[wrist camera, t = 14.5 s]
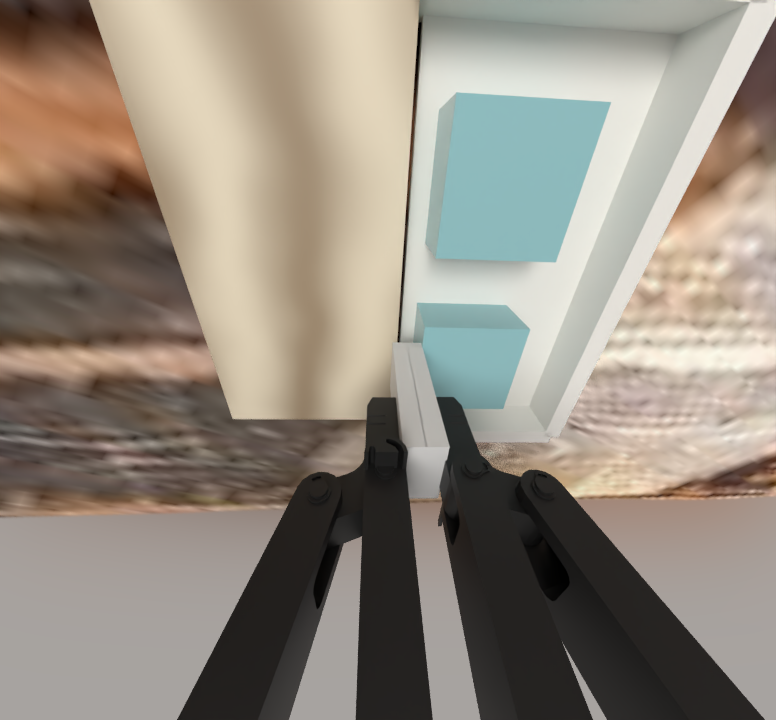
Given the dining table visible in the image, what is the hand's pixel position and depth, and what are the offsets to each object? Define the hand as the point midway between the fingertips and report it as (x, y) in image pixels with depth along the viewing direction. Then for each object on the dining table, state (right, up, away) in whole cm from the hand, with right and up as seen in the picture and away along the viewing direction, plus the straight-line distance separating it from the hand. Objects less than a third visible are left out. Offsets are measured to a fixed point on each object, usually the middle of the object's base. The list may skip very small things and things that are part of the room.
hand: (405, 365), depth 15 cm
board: (-5, +5, 0) cm, 7 cm away
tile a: (+4, +8, -2) cm, 9 cm away
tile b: (+3, +1, +2) cm, 4 cm away
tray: (+5, +5, +1) cm, 7 cm away
